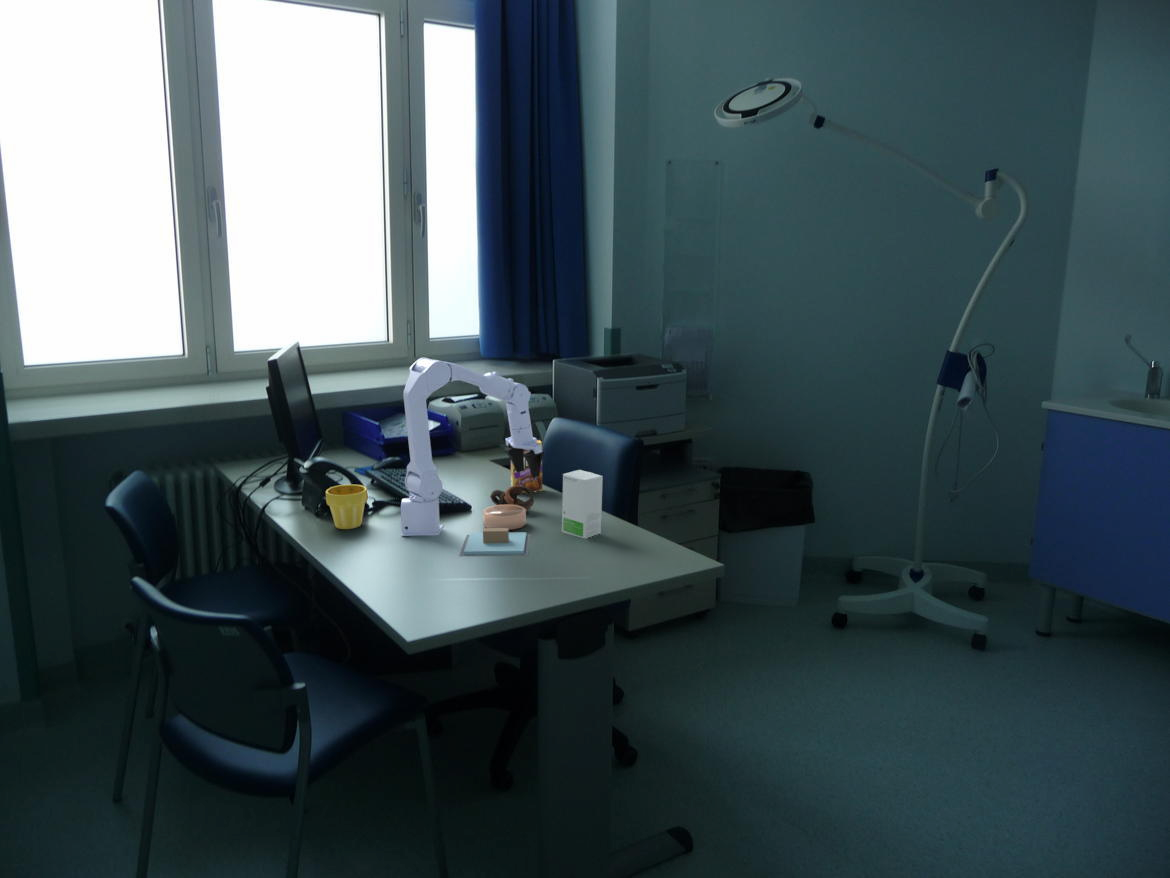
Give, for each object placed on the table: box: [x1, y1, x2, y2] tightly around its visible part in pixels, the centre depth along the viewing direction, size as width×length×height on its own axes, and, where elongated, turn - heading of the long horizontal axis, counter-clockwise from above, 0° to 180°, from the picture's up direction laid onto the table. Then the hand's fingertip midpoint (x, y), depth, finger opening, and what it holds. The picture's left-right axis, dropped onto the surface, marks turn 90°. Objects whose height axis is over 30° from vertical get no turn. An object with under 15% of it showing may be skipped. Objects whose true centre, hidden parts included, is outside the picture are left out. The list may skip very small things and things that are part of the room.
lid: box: [464, 527, 528, 555], centre depth 221 cm, size 14×14×4 cm
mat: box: [458, 533, 531, 557], centre depth 222 cm, size 16×16×1 cm
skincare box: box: [561, 469, 604, 539], centre depth 229 cm, size 8×7×16 cm
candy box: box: [510, 439, 543, 494], centre depth 268 cm, size 9×4×15 cm, turn 103°
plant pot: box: [325, 484, 368, 530], centre depth 238 cm, size 10×10×10 cm
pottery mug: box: [489, 485, 535, 511], centre depth 250 cm, size 12×10×8 cm
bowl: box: [482, 504, 527, 531], centre depth 236 cm, size 11×11×4 cm
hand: (528, 473), depth 249 cm, fingers open, 7 cm apart
